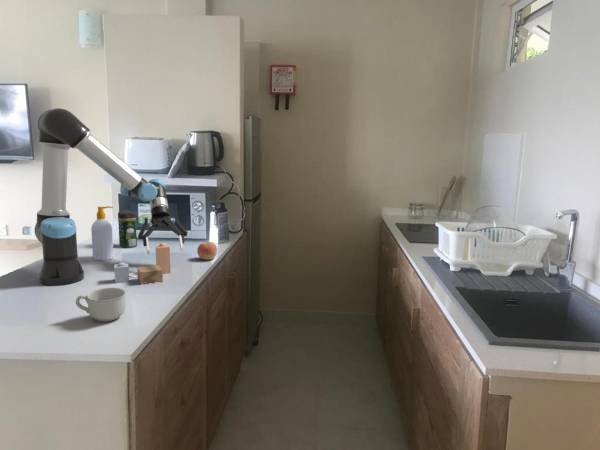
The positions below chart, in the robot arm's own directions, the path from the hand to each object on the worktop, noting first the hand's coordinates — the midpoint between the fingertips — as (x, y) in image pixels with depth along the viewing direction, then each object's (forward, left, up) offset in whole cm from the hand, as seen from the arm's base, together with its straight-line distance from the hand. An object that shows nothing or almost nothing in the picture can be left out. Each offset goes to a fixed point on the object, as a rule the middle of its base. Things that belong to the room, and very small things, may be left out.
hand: (165, 250), depth 190 cm
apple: (+23, 0, -8) cm, 25 cm away
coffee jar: (+15, +51, -8) cm, 53 cm away
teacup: (-45, -30, -8) cm, 55 cm away
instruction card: (-11, +3, -8) cm, 14 cm away
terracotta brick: (-3, -2, -8) cm, 9 cm away
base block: (-13, -8, -8) cm, 18 cm away
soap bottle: (-6, +37, -8) cm, 38 cm away
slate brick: (-20, 0, -8) cm, 22 cm away
